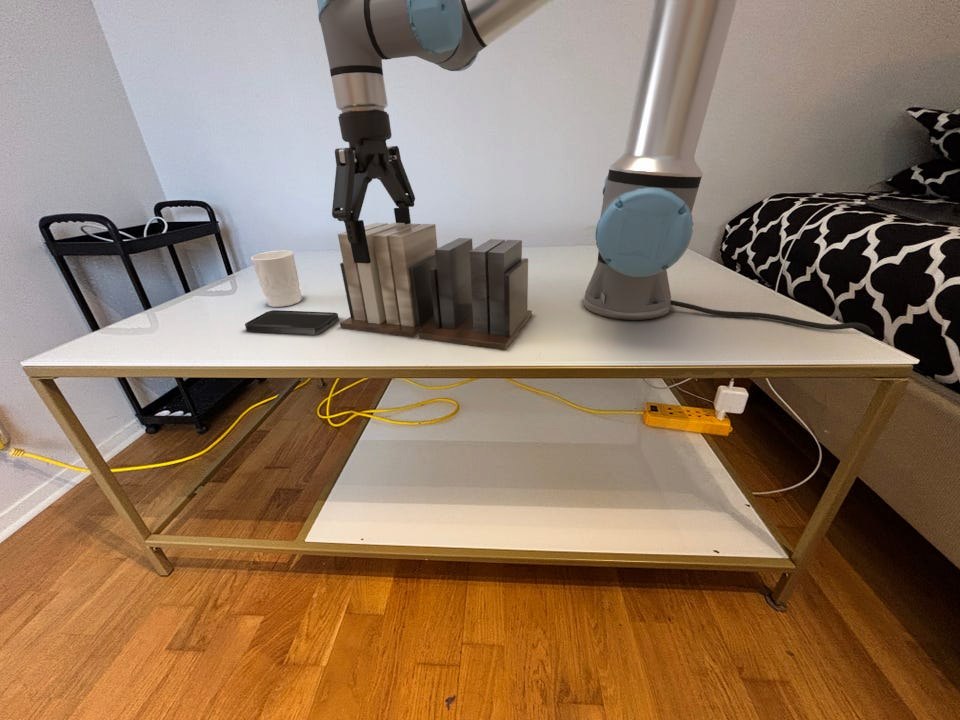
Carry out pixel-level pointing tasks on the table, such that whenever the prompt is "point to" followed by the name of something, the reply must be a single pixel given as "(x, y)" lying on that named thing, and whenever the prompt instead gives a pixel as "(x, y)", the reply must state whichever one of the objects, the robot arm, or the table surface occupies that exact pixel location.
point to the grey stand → (479, 293)
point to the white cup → (278, 277)
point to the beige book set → (394, 280)
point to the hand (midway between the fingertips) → (386, 253)
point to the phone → (292, 322)
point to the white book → (373, 278)
